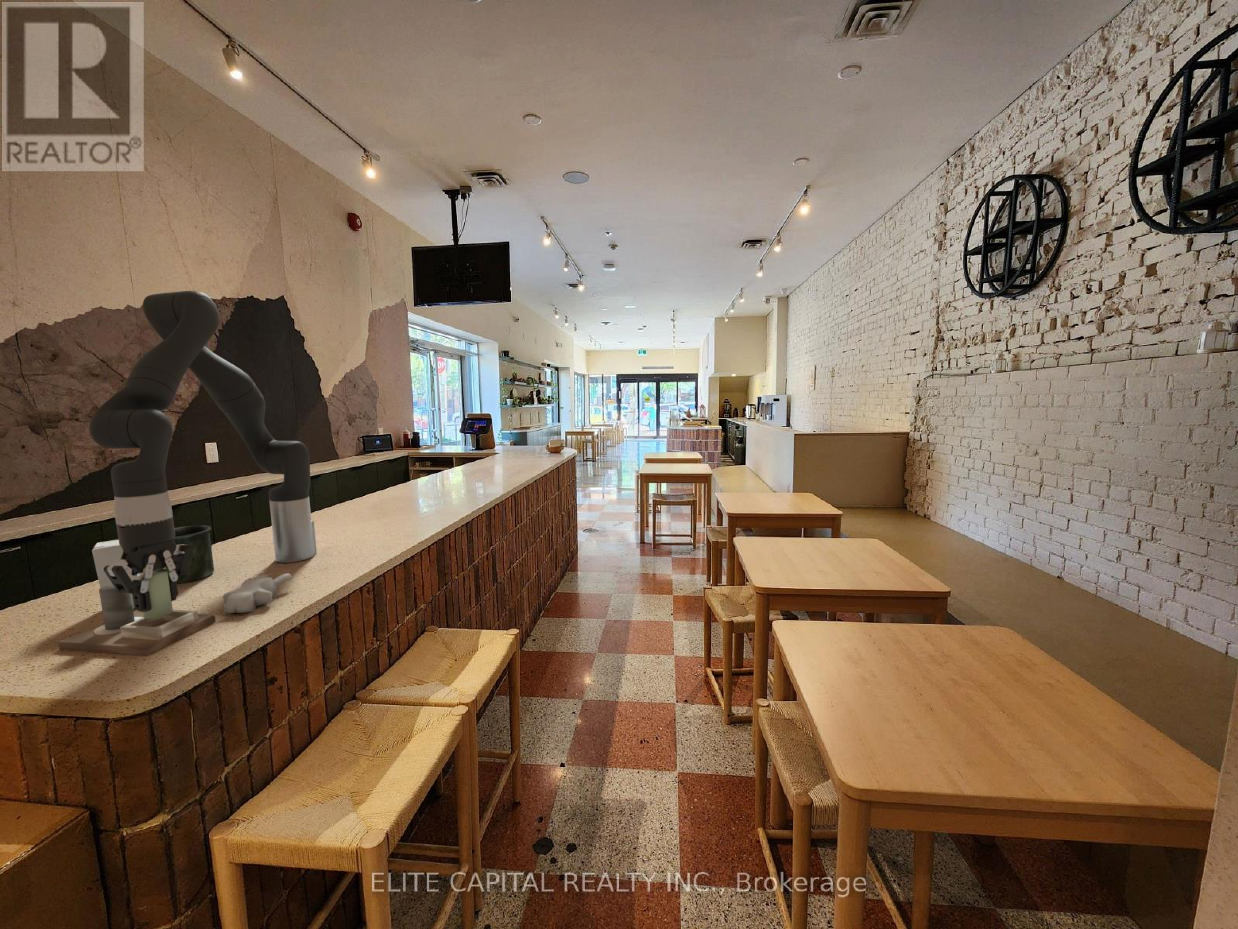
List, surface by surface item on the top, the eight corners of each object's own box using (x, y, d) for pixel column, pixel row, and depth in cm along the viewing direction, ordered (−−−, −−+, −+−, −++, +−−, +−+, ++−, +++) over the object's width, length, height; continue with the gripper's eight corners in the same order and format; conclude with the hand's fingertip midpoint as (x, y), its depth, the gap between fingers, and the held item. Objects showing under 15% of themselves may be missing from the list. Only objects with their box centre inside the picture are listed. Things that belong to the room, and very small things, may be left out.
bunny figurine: (207, 600, 99) (252, 566, 114) (212, 622, 101) (256, 586, 115) (256, 598, 100) (295, 565, 115) (260, 620, 102) (298, 584, 116)
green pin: (160, 608, 94) (154, 569, 93) (178, 610, 93) (173, 570, 92) (137, 618, 90) (131, 577, 89) (156, 619, 90) (150, 578, 88)
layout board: (138, 616, 100) (131, 573, 99) (215, 621, 98) (209, 577, 97) (59, 649, 88) (50, 599, 86) (146, 655, 85) (138, 605, 84)
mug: (146, 587, 116) (139, 539, 114) (189, 566, 130) (183, 522, 128) (197, 584, 118) (191, 536, 116) (234, 563, 132) (229, 521, 130)
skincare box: (160, 596, 111) (151, 533, 108) (157, 605, 106) (148, 540, 104) (107, 606, 105) (96, 540, 103) (102, 616, 101) (91, 547, 98)
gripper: (167, 508, 96) (178, 590, 99) (80, 527, 82) (95, 621, 85) (200, 509, 96) (210, 591, 98) (118, 528, 82) (133, 624, 84)
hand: (157, 605), depth 91 cm, fingers closed on green pin, 4 cm apart
